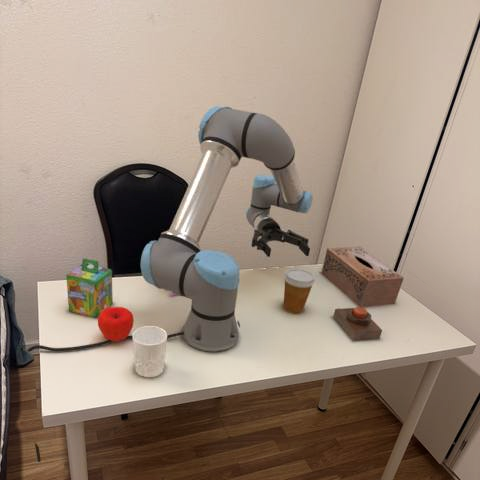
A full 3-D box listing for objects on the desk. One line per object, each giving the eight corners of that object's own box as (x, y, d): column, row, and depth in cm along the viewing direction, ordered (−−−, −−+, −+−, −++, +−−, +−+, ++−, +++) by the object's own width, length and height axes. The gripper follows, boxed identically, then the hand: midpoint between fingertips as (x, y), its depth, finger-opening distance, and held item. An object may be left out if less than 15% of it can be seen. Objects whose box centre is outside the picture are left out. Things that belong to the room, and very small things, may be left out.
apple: (112, 352, 110) (110, 326, 106) (91, 336, 114) (89, 311, 110) (140, 339, 116) (140, 314, 112) (120, 324, 120) (119, 300, 116)
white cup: (171, 363, 109) (172, 330, 103) (157, 382, 102) (158, 348, 97) (142, 355, 110) (142, 322, 105) (127, 374, 103) (126, 339, 98)
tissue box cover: (394, 303, 151) (403, 277, 145) (360, 307, 145) (368, 280, 140) (353, 270, 170) (359, 246, 165) (321, 272, 165) (327, 248, 160)
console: (352, 341, 127) (357, 326, 125) (332, 317, 138) (336, 303, 135) (379, 339, 130) (384, 325, 127) (357, 315, 140) (361, 302, 138)
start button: (356, 319, 129) (358, 314, 128) (350, 312, 132) (351, 307, 131) (368, 318, 130) (370, 313, 129) (361, 311, 134) (363, 306, 133)
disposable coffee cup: (307, 303, 143) (314, 270, 137) (308, 318, 135) (316, 284, 129) (278, 299, 144) (284, 266, 137) (278, 313, 136) (284, 279, 129)
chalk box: (68, 311, 123) (63, 264, 115) (85, 297, 130) (81, 251, 123) (98, 319, 121) (95, 271, 114) (114, 303, 129) (112, 258, 121)
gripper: (297, 237, 163) (321, 262, 146) (232, 237, 155) (250, 263, 138) (300, 218, 159) (326, 241, 142) (235, 217, 151) (254, 241, 134)
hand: (289, 252), depth 140 cm, fingers open, 13 cm apart
